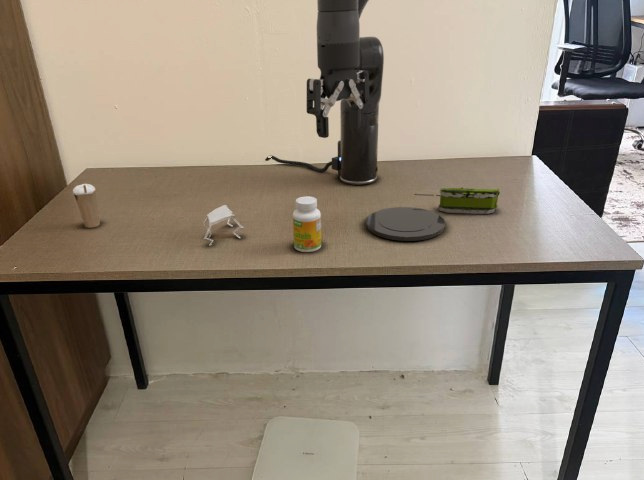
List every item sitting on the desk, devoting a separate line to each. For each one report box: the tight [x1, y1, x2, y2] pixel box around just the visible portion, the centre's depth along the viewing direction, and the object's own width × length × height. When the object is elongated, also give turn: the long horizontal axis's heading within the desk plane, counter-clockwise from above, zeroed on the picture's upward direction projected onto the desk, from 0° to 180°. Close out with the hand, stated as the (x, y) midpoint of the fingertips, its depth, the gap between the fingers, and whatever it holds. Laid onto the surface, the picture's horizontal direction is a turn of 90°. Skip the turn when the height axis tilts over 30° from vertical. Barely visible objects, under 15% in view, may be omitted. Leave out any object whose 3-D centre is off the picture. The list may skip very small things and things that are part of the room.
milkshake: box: [72, 183, 101, 229], centre depth 123 cm, size 5×5×10 cm
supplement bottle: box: [292, 195, 322, 253], centre depth 109 cm, size 5×5×10 cm
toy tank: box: [413, 187, 501, 215], centre depth 125 cm, size 7×19×10 cm
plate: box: [366, 206, 446, 242], centre depth 118 cm, size 16×16×1 cm
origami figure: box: [202, 204, 245, 246], centre depth 117 cm, size 12×8×5 cm
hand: (339, 132), depth 108 cm, fingers open, 8 cm apart
